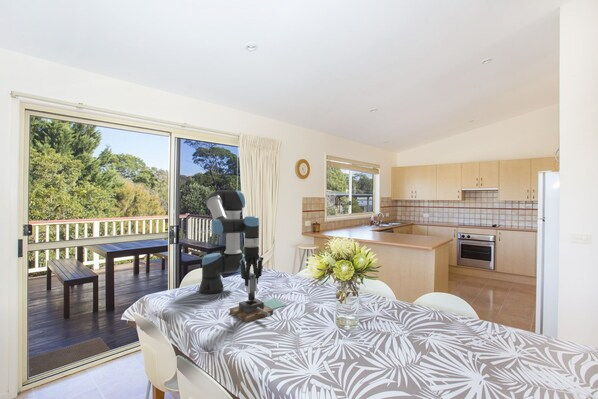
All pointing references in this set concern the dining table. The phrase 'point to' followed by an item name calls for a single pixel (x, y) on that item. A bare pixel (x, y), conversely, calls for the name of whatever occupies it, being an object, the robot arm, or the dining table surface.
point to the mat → (274, 304)
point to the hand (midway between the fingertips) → (251, 291)
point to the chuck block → (251, 310)
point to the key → (252, 287)
